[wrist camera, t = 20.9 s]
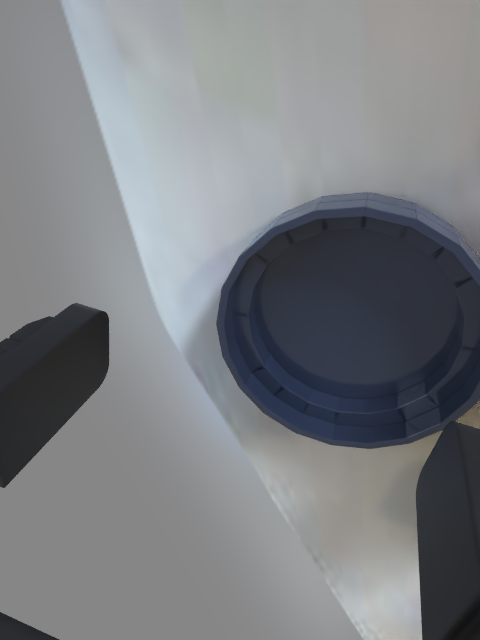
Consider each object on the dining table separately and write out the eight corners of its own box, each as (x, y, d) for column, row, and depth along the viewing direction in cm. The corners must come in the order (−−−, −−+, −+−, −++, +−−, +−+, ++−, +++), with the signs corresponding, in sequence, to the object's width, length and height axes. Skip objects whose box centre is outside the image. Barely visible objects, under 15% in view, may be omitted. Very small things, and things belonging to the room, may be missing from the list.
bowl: (542, 230, 28) (564, 254, 25) (429, 439, 38) (433, 479, 35) (256, 164, 32) (238, 176, 28) (221, 372, 42) (204, 402, 38)
